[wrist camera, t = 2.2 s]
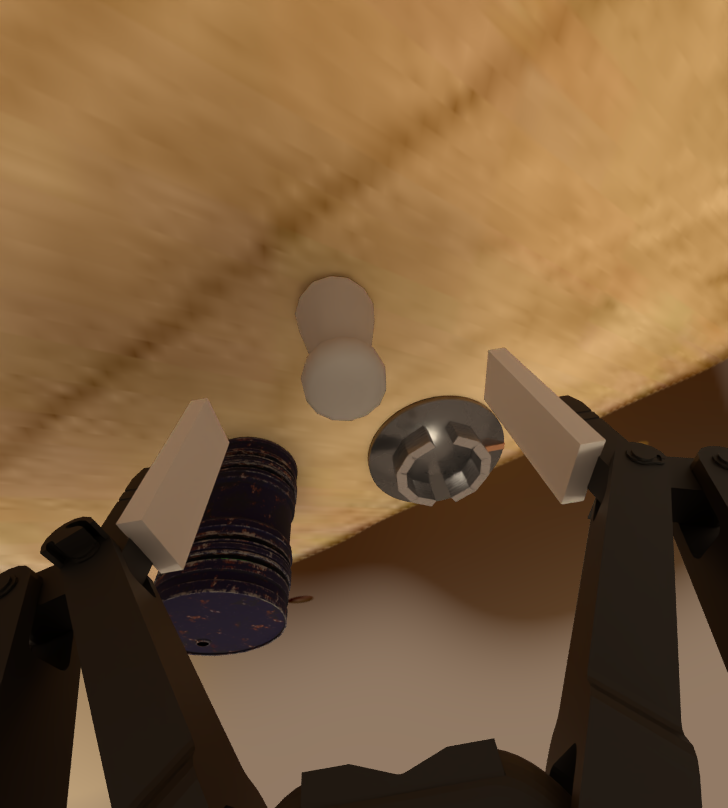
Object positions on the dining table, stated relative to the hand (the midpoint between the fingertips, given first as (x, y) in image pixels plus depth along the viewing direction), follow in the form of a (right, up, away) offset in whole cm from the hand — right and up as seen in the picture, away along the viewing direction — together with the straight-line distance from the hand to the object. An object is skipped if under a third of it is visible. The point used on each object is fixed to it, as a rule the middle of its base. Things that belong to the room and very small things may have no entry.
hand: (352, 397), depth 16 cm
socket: (+8, -6, +21) cm, 23 cm away
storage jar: (-12, -7, +20) cm, 24 cm away
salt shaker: (-2, +8, +11) cm, 13 cm away
